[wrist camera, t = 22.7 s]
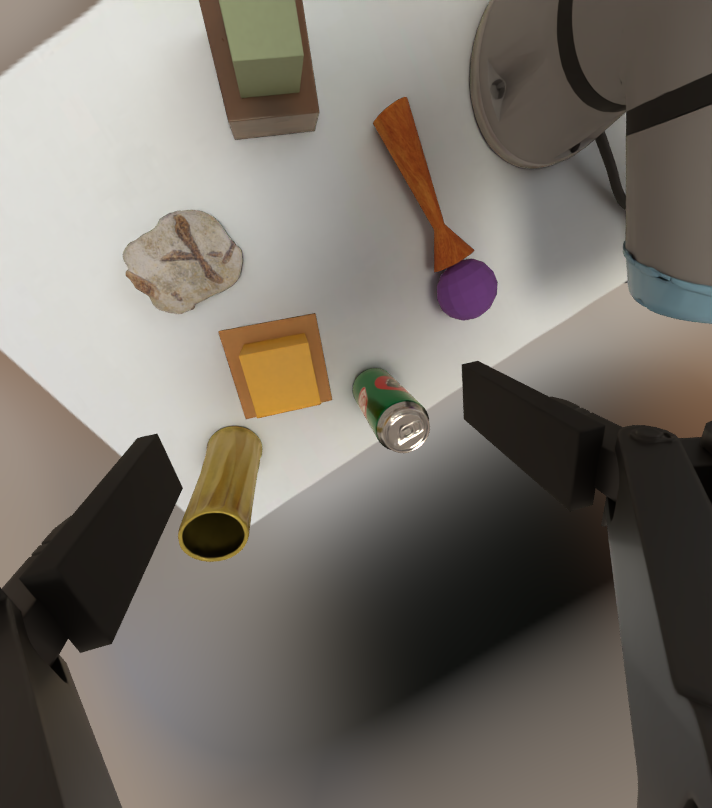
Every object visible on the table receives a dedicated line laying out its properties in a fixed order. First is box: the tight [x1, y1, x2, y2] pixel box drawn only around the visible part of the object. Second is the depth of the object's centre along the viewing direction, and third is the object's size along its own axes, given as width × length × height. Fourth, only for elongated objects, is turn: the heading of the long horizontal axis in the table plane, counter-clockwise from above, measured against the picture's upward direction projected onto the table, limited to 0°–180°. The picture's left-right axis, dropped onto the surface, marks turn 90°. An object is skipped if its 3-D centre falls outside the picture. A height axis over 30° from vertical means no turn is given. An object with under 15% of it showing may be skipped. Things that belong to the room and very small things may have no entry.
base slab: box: [199, 0, 319, 140], centre depth 26 cm, size 7×7×4 cm
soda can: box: [353, 368, 430, 453], centre depth 35 cm, size 5×5×12 cm
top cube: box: [239, 333, 321, 418], centre depth 34 cm, size 6×6×5 cm
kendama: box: [373, 97, 498, 320], centre depth 33 cm, size 6×6×20 cm
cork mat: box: [219, 313, 332, 419], centre depth 37 cm, size 10×10×1 cm
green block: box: [219, 0, 304, 98], centre depth 22 cm, size 4×4×5 cm
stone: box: [123, 210, 243, 314], centre depth 30 cm, size 10×7×3 cm
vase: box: [178, 426, 262, 562], centre depth 33 cm, size 6×6×14 cm
